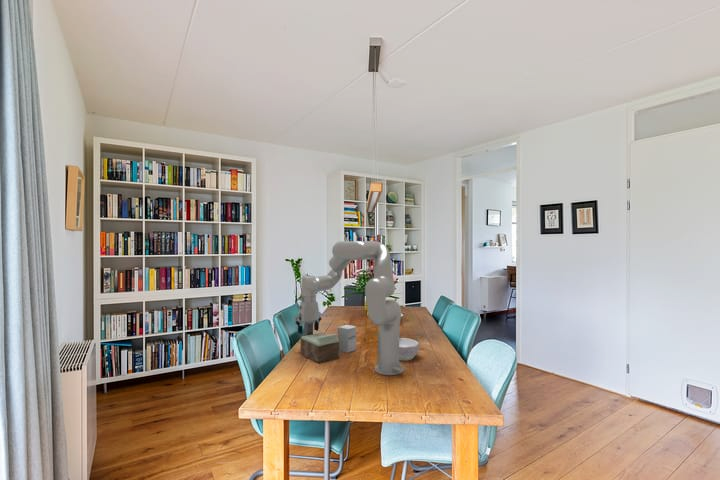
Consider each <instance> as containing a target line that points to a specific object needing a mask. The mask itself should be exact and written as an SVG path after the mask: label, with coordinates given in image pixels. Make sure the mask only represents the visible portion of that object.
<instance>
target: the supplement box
mask: <svg viewBox="0 0 720 480" xmlns="http://www.w3.org/2000/svg"><path fill="white" fill-rule="evenodd" d="M337 339H339V352H341V353H342V352H343V353H346V354H349V353H351V352H354V351H356V350H357V326H354V325H350V324H345V325H341V326H338V327H337Z"/></svg>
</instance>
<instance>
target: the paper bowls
mask: <svg viewBox="0 0 720 480" xmlns="http://www.w3.org/2000/svg"><path fill="white" fill-rule="evenodd" d="M419 347H420V346H419V342H418V341H416V340H414V339H412V338H407V337H399V361H401V362H402V361H411V360H413V359H414V358H415V356H417V355H418V354H419Z"/></svg>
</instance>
